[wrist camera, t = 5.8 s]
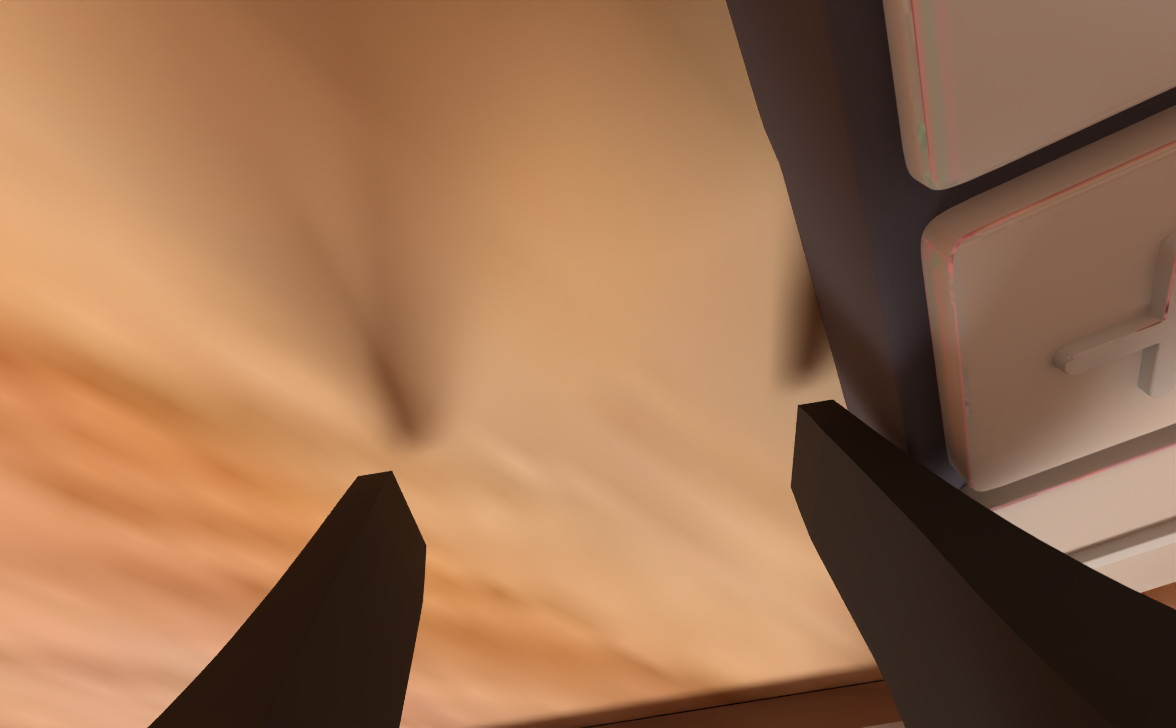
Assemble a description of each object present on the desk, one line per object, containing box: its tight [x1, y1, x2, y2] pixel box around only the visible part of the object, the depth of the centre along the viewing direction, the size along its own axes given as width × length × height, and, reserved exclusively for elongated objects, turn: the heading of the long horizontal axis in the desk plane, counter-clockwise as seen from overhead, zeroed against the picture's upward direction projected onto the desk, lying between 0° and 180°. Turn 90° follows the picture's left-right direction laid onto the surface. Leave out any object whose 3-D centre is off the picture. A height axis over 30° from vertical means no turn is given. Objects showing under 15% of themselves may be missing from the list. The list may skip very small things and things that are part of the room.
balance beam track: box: [590, 681, 905, 728], centre depth 11 cm, size 33×32×2 cm
